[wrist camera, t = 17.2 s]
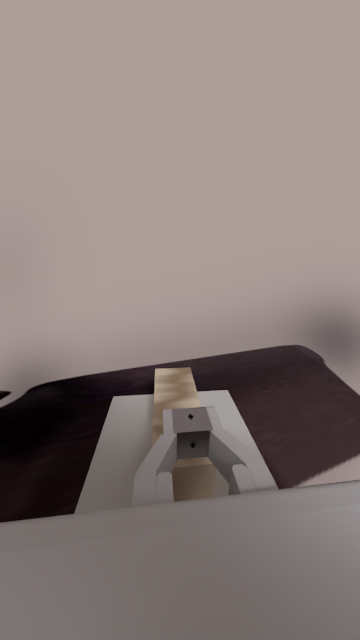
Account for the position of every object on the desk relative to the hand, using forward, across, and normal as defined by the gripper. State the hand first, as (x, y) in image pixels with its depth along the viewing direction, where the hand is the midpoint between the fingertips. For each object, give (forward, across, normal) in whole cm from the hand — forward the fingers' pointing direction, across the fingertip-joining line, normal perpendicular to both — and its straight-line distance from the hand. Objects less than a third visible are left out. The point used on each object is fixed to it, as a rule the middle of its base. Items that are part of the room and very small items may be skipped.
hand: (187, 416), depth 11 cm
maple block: (0, 0, +7) cm, 7 cm away
